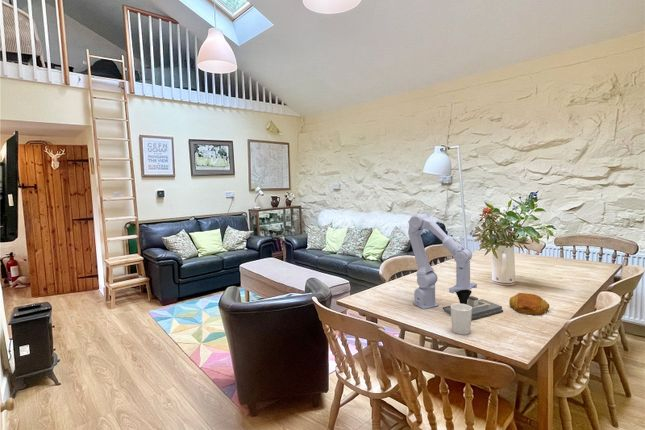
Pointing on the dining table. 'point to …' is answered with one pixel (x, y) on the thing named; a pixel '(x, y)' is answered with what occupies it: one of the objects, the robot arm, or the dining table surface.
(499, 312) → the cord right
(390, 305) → the dining table surface
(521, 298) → the croissant
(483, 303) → the breaker panel
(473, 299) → the grey and beige block
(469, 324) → the white cup
